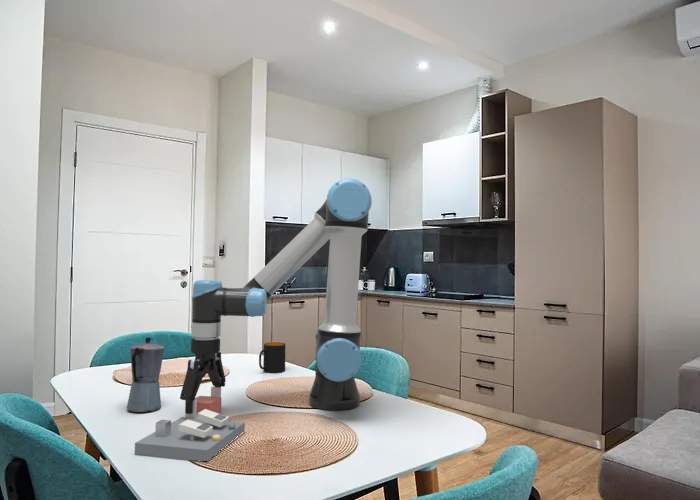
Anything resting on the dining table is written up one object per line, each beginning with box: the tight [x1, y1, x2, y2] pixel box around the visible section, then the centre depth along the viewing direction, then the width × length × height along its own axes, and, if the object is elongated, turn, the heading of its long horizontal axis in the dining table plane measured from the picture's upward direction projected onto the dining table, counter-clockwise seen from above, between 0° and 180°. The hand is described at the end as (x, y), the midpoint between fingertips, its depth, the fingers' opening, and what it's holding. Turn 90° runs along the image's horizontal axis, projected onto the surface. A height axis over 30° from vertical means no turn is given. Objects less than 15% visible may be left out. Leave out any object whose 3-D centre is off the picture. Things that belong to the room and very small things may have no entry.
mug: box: [258, 342, 286, 374], centre depth 195 cm, size 8×12×10 cm
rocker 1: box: [178, 420, 213, 438], centre depth 114 cm, size 6×4×2 cm, turn 78°
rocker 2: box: [196, 409, 229, 427], centre depth 122 cm, size 6×4×2 cm, turn 78°
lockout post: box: [154, 419, 172, 437], centre depth 116 cm, size 2×2×3 cm
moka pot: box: [126, 337, 165, 413], centre depth 144 cm, size 10×15×20 cm, turn 2°
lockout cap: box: [195, 395, 222, 418], centre depth 136 cm, size 6×6×5 cm
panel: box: [134, 416, 246, 462], centre depth 118 cm, size 17×19×4 cm
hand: (203, 417), depth 136 cm, fingers open, 13 cm apart
